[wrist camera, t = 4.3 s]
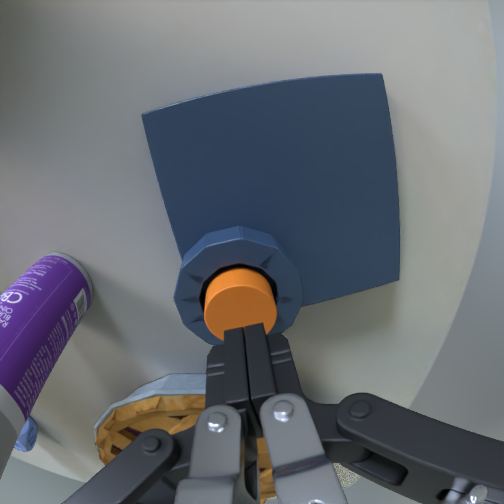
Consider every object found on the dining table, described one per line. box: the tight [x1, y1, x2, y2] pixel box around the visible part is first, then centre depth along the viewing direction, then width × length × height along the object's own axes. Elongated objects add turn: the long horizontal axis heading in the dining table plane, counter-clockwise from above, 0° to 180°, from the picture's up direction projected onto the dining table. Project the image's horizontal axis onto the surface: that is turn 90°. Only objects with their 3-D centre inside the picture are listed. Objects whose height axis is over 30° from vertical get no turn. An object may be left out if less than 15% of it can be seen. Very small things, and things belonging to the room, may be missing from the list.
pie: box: [94, 374, 333, 504], centre depth 22 cm, size 22×22×5 cm
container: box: [0, 252, 93, 479], centre depth 10 cm, size 5×5×15 cm
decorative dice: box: [14, 416, 37, 452], centre depth 21 cm, size 4×4×4 cm
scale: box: [141, 73, 400, 345], centre depth 15 cm, size 12×13×4 cm
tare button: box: [204, 267, 277, 341], centre depth 14 cm, size 3×3×2 cm
